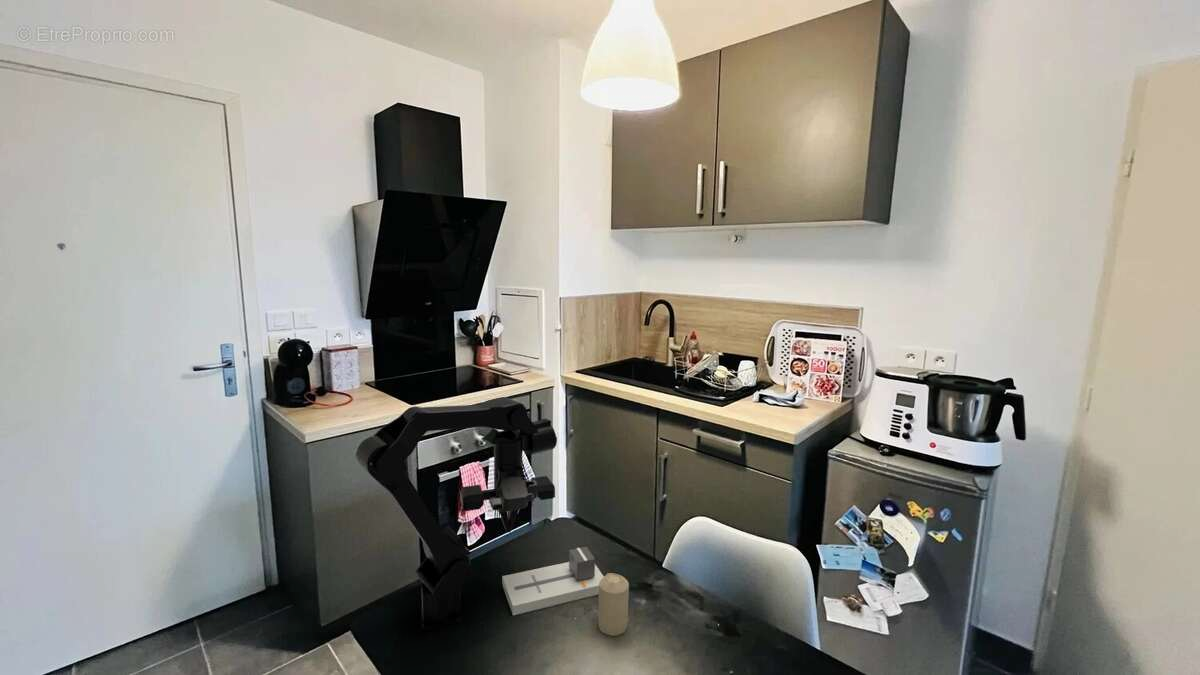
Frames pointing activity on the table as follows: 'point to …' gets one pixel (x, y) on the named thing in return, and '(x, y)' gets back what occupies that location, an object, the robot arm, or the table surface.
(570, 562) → the fader
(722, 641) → the table surface
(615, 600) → the candle
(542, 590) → the slider track board
